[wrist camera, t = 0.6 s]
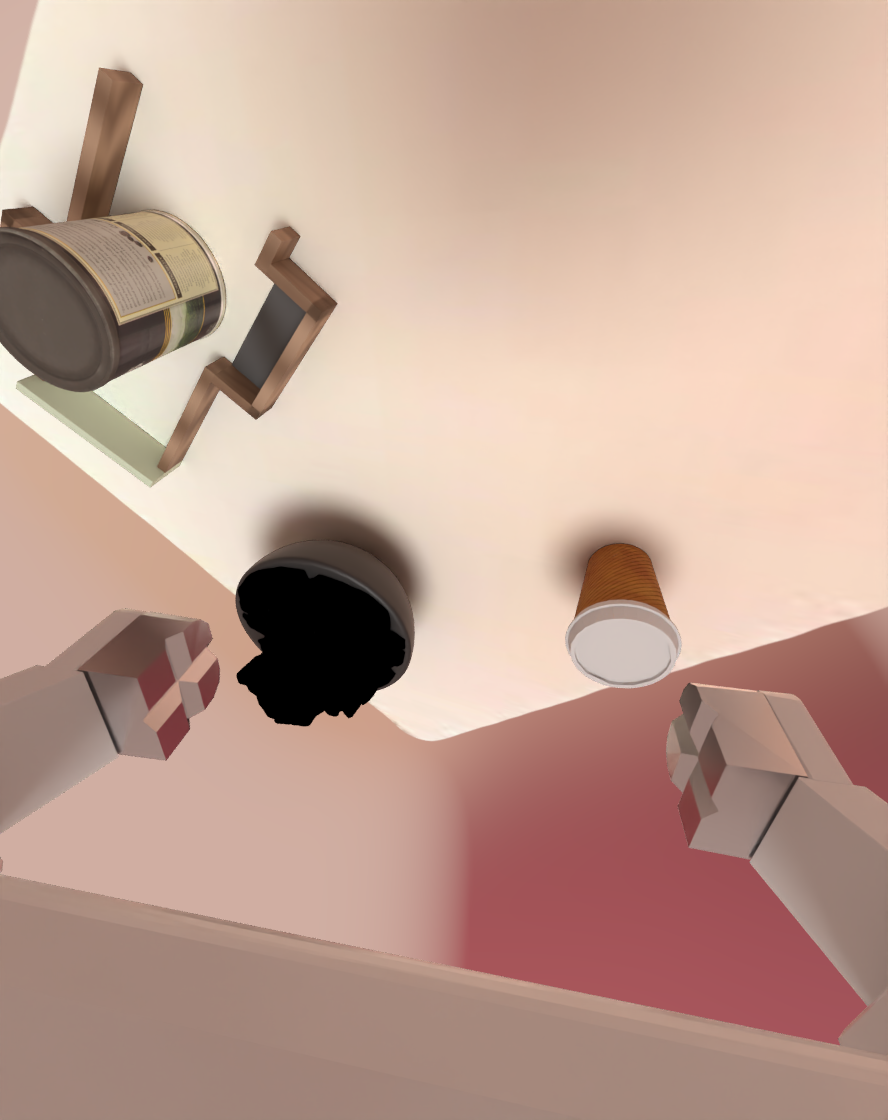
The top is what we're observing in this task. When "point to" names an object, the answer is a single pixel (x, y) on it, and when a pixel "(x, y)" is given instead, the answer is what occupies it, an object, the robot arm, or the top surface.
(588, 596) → the disposable coffee cup
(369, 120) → the top surface
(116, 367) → the coffee can
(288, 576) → the coal bowl
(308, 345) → the trap lane
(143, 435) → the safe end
